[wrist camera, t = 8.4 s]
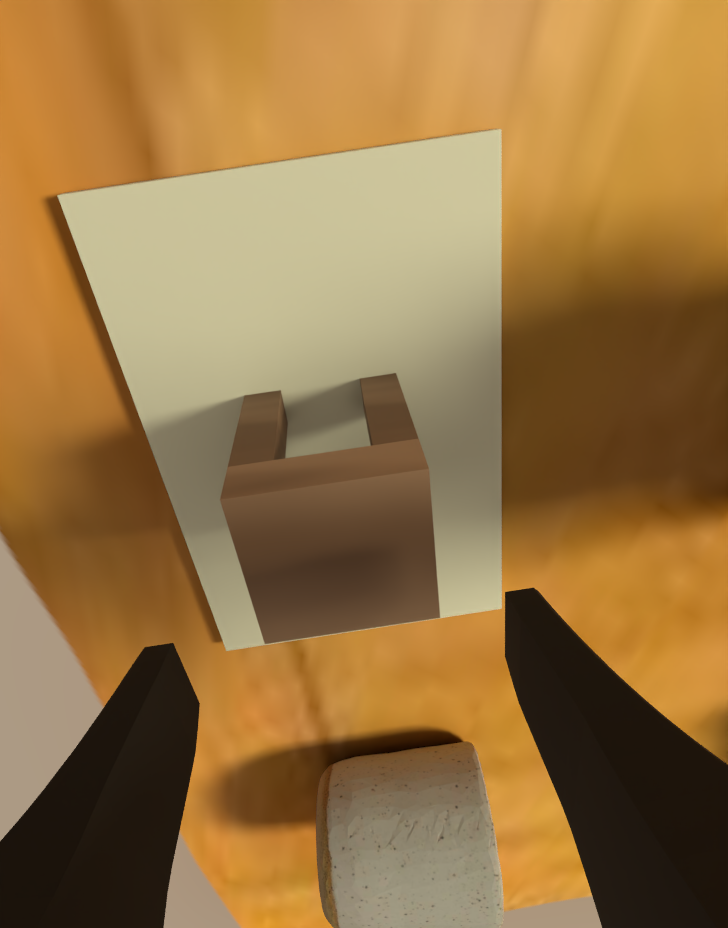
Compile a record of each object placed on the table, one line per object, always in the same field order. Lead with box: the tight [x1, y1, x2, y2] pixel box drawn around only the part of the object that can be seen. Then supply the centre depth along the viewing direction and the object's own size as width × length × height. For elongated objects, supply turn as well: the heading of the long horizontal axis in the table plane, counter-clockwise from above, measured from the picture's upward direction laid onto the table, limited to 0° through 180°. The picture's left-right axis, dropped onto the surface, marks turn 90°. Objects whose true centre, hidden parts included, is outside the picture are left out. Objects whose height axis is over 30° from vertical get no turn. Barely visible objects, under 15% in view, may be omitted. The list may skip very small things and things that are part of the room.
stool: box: [220, 373, 440, 644], centre depth 17 cm, size 5×5×6 cm
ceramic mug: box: [316, 742, 504, 928], centre depth 29 cm, size 11×8×8 cm
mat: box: [57, 129, 502, 651], centre depth 20 cm, size 18×12×1 cm, turn 7°
